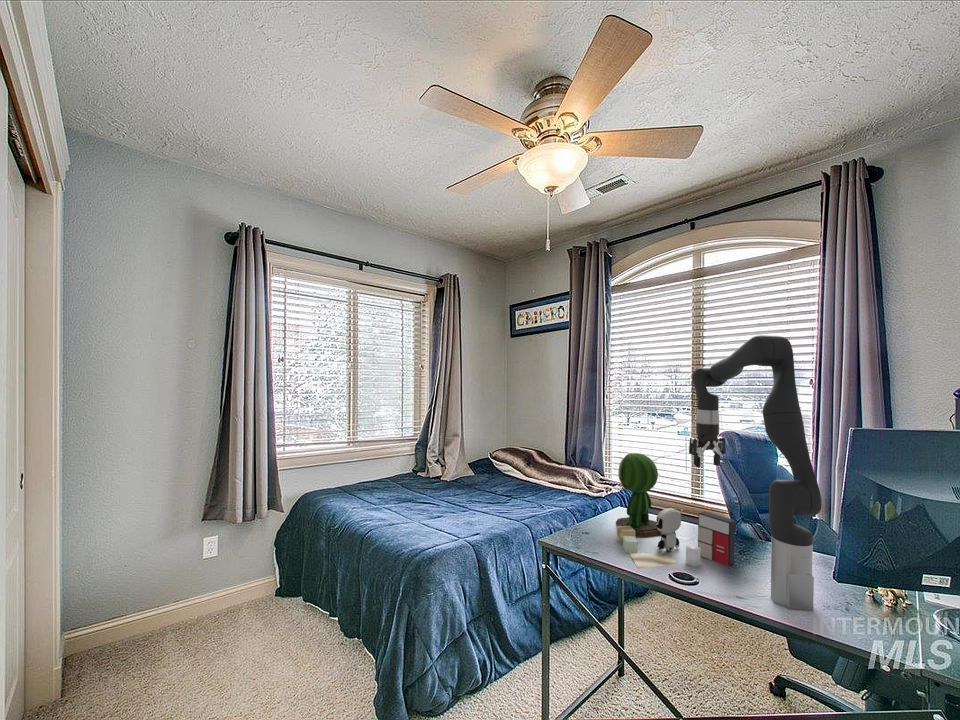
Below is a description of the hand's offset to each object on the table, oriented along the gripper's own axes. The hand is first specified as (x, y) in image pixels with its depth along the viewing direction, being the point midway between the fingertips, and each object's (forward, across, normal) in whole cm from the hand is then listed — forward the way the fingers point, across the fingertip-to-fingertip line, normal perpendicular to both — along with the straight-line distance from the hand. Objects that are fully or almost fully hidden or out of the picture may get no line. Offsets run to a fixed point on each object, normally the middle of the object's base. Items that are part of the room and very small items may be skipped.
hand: (707, 466), depth 163 cm
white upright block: (+29, -17, -12) cm, 36 cm away
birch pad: (+29, -28, -7) cm, 41 cm away
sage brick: (+29, -30, +4) cm, 42 cm away
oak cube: (+29, -27, +10) cm, 41 cm away
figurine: (+29, -14, +20) cm, 38 cm away
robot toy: (+29, -17, 0) cm, 34 cm away
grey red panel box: (+29, -7, -11) cm, 32 cm away
